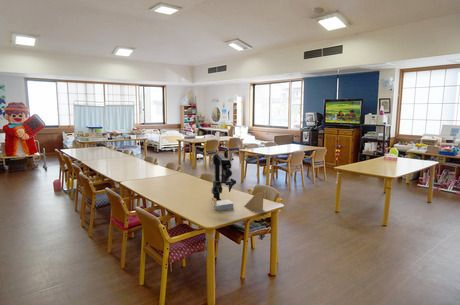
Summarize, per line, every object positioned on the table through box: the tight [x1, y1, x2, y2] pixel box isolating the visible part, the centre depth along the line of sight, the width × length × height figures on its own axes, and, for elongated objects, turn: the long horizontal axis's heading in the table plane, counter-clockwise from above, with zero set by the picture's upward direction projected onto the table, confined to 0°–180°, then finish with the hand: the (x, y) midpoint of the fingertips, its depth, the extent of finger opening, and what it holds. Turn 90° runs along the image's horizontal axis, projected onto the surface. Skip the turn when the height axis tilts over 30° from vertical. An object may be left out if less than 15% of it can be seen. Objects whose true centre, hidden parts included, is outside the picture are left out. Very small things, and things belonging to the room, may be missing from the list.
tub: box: [213, 204, 234, 212], centre depth 252 cm, size 10×13×4 cm
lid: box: [211, 198, 235, 206], centre depth 251 cm, size 11×15×5 cm
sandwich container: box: [243, 191, 264, 212], centre depth 253 cm, size 9×15×15 cm, turn 37°
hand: (224, 192), depth 250 cm, fingers open, 9 cm apart
